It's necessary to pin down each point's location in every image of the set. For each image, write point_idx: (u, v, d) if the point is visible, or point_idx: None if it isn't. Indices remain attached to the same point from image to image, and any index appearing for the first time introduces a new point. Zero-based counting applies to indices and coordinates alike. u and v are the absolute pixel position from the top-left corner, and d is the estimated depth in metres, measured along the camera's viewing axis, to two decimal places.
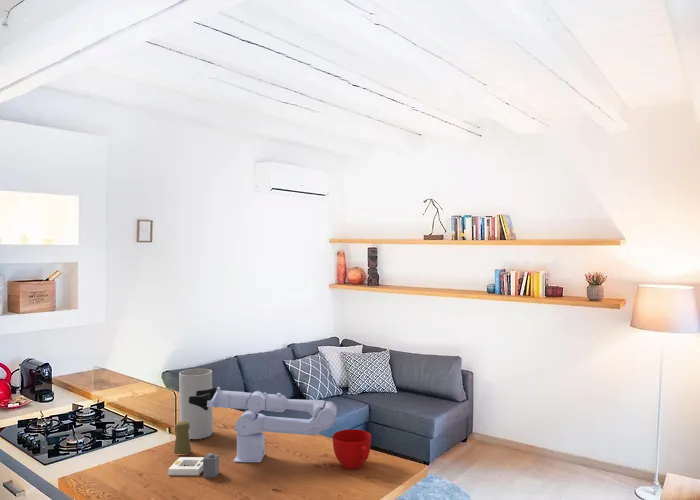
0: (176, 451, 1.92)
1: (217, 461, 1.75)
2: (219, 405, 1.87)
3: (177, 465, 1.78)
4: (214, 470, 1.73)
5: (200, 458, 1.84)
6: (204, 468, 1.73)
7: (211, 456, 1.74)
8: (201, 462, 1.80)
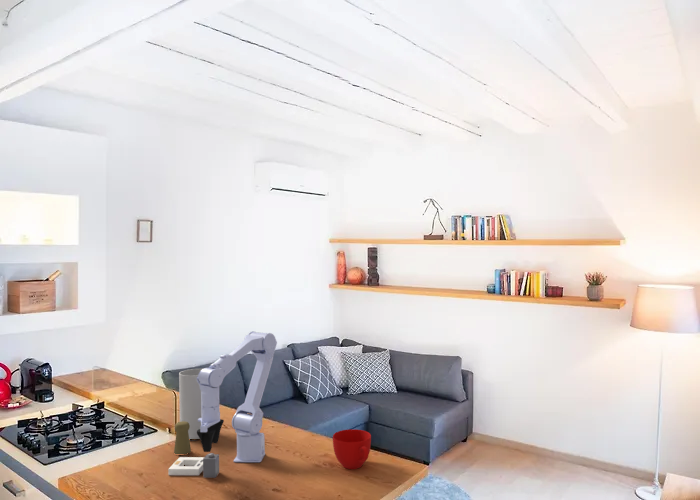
0: (176, 451, 1.92)
1: (217, 461, 1.75)
2: (213, 417, 1.73)
3: (177, 465, 1.78)
4: (214, 470, 1.73)
5: (200, 458, 1.84)
6: (204, 468, 1.73)
7: (211, 456, 1.74)
8: (201, 462, 1.80)
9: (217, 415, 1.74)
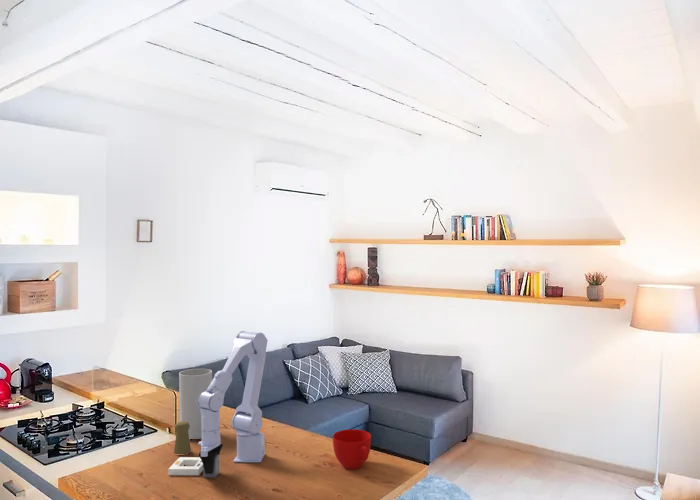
0: (176, 451, 1.92)
1: (217, 461, 1.75)
2: (213, 441, 1.73)
3: (177, 465, 1.78)
4: (214, 470, 1.73)
5: None
6: None
7: None
8: (201, 462, 1.80)
9: (217, 439, 1.74)
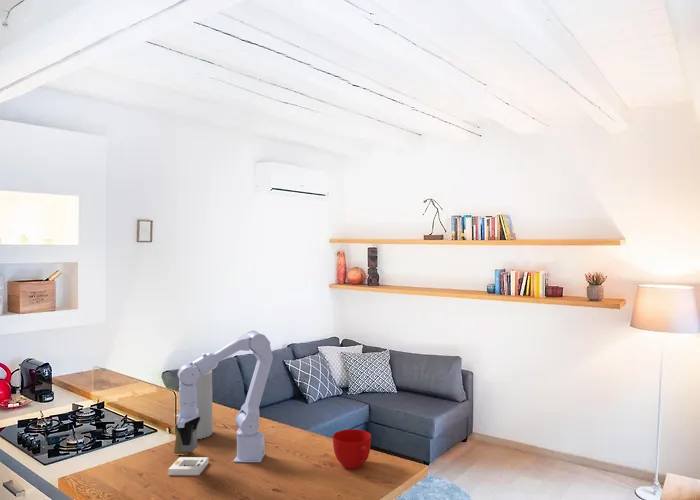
0: (176, 451, 1.92)
1: (195, 435, 1.80)
2: (190, 413, 1.77)
3: (177, 465, 1.78)
4: (192, 444, 1.78)
5: (200, 458, 1.84)
6: None
7: None
8: (201, 462, 1.80)
9: (194, 411, 1.79)
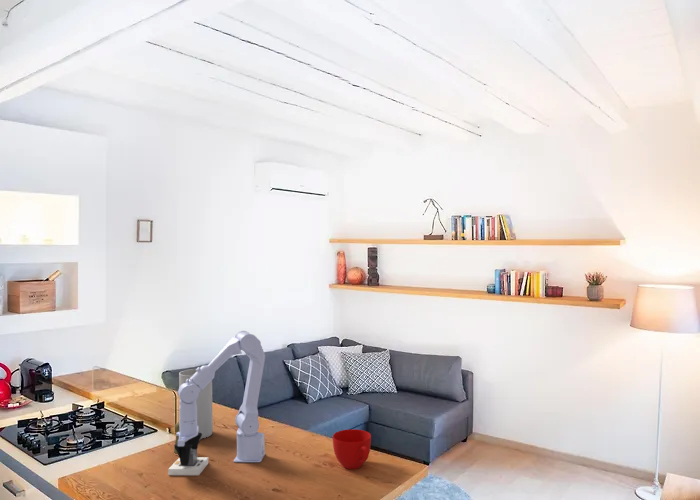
0: (176, 451, 1.92)
1: (195, 456, 1.80)
2: (191, 432, 1.77)
3: (177, 465, 1.78)
4: (192, 464, 1.78)
5: (200, 458, 1.84)
6: None
7: None
8: (201, 462, 1.80)
9: (195, 429, 1.79)
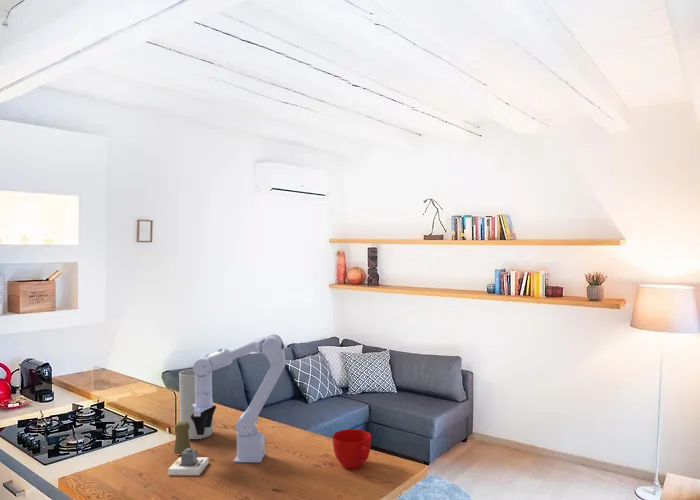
0: (176, 451, 1.92)
1: (195, 456, 1.80)
2: (206, 403, 1.86)
3: (177, 465, 1.78)
4: (192, 464, 1.78)
5: (200, 458, 1.84)
6: (182, 462, 1.78)
7: (189, 451, 1.79)
8: (201, 462, 1.80)
9: (210, 401, 1.87)
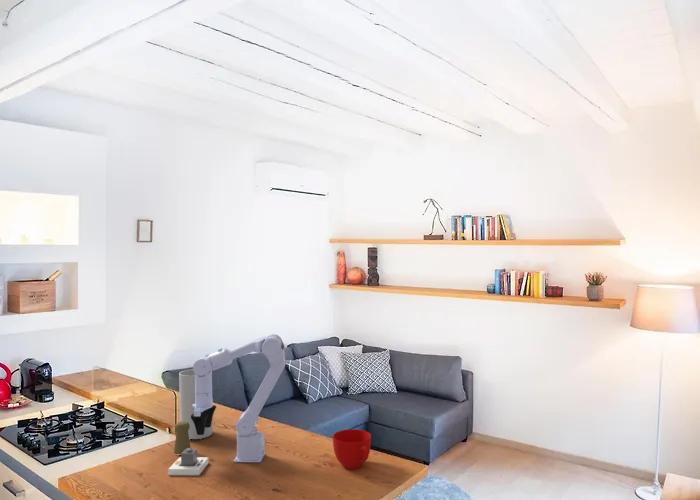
0: (176, 451, 1.92)
1: (195, 456, 1.80)
2: (206, 403, 1.86)
3: (177, 465, 1.78)
4: (192, 464, 1.78)
5: (200, 458, 1.84)
6: (182, 462, 1.78)
7: (189, 451, 1.79)
8: (201, 462, 1.80)
9: (210, 401, 1.87)
